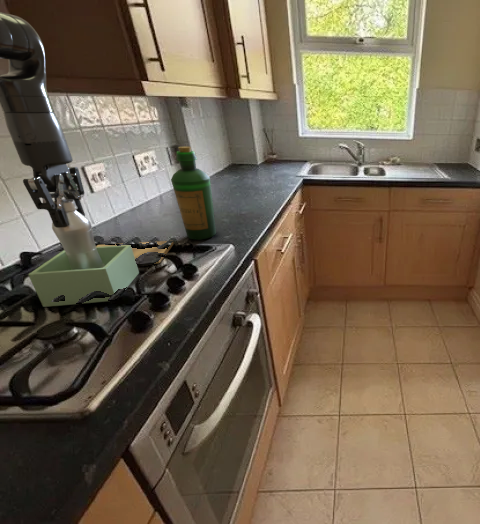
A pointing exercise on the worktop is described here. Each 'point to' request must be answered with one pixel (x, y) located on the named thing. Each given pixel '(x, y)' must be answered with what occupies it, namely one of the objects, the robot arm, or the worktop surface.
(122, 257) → the bin
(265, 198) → the worktop surface
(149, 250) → the board
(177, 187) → the bottle
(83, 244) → the plastic bottle
